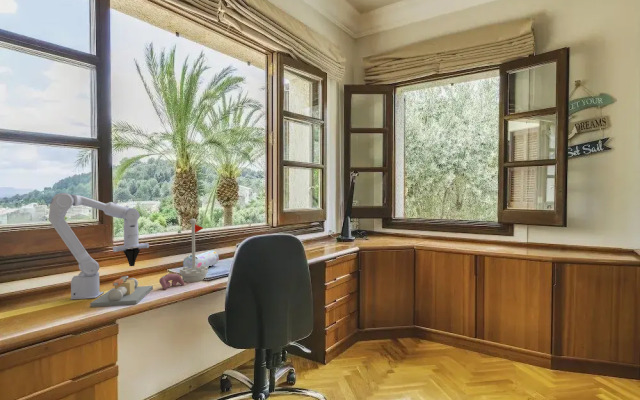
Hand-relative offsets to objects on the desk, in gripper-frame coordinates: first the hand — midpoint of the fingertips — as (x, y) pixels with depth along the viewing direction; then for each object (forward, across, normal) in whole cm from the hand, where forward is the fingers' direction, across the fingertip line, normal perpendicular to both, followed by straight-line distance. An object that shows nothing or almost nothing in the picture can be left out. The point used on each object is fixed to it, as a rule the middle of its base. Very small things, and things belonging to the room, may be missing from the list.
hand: (131, 265), depth 158 cm
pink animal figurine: (+11, +13, -10) cm, 20 cm away
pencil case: (+11, +43, +14) cm, 46 cm away
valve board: (+10, -7, -10) cm, 16 cm away
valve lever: (+3, -10, -13) cm, 17 cm away
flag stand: (+11, +27, -5) cm, 30 cm away
